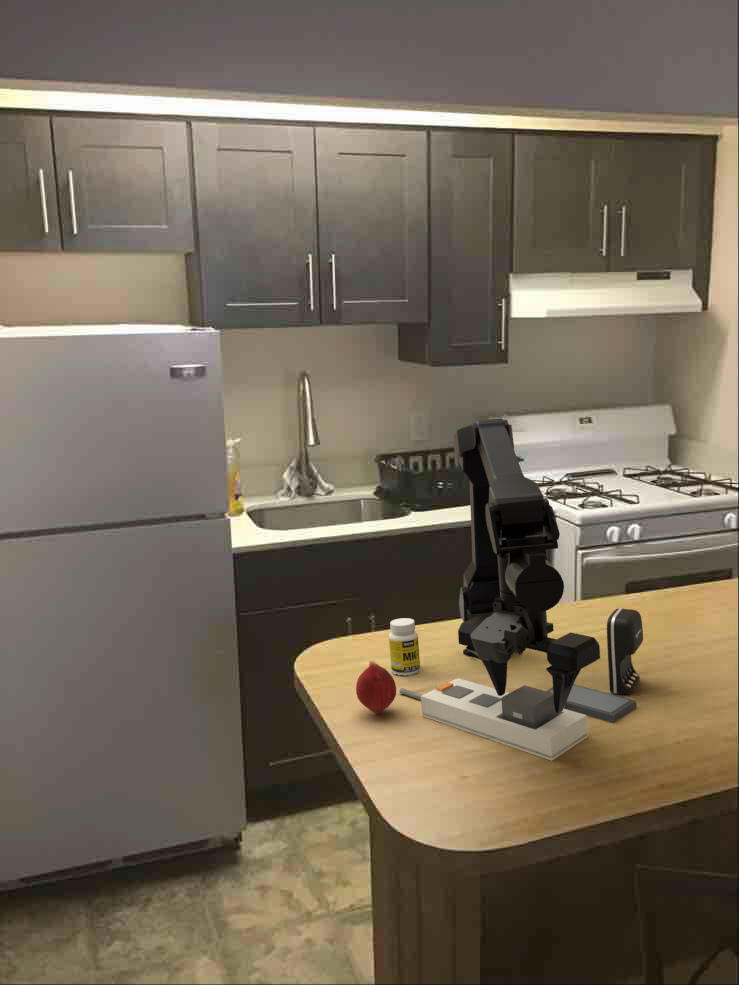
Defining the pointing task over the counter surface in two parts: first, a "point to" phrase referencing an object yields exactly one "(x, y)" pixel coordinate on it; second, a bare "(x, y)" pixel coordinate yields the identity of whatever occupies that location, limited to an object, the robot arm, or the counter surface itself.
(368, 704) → the onion
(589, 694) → the phone
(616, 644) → the battery charger
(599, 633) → the counter surface
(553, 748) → the power strip
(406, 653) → the supplement bottle
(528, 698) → the charger cube
